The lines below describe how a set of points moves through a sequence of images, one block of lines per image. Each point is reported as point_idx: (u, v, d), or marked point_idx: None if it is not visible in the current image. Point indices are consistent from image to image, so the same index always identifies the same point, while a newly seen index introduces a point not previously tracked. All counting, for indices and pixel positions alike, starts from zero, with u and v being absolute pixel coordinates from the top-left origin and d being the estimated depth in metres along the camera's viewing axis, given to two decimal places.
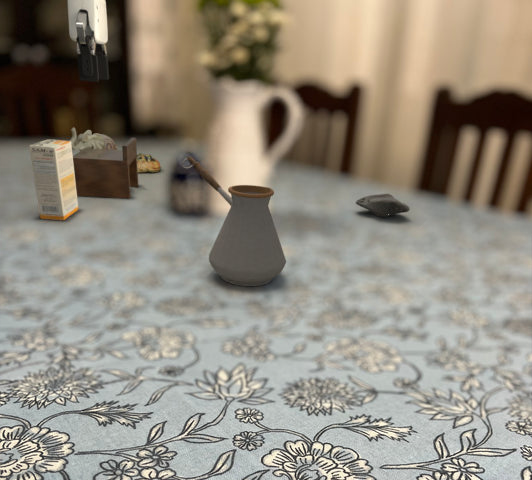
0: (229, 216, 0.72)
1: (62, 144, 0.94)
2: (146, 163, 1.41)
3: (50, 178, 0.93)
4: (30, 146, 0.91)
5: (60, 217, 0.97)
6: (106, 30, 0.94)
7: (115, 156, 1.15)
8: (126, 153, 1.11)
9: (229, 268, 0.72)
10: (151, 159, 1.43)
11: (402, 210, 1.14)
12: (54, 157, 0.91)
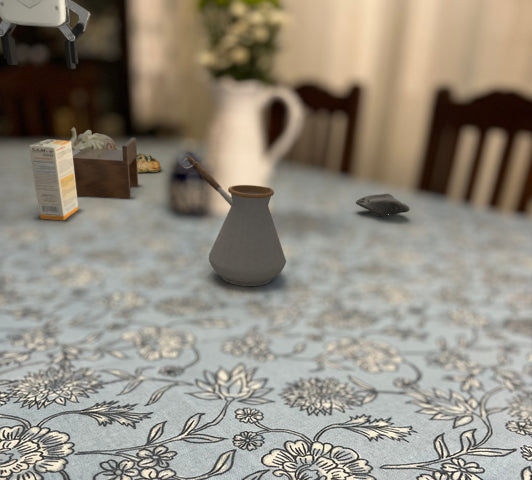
0: (229, 216, 0.72)
1: (62, 144, 0.94)
2: (146, 163, 1.41)
3: (50, 178, 0.93)
4: (30, 146, 0.91)
5: (60, 217, 0.97)
6: None
7: (115, 156, 1.15)
8: (126, 153, 1.11)
9: (229, 268, 0.72)
10: (151, 159, 1.43)
11: (402, 210, 1.14)
12: (54, 157, 0.91)
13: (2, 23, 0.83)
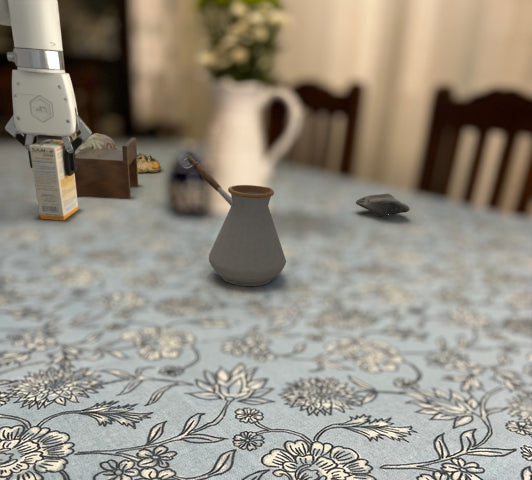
0: (229, 216, 0.72)
1: (62, 144, 0.94)
2: (146, 163, 1.41)
3: (50, 178, 0.93)
4: (30, 146, 0.91)
5: (60, 217, 0.97)
6: None
7: (115, 156, 1.15)
8: (126, 153, 1.11)
9: (229, 268, 0.72)
10: (151, 159, 1.43)
11: (402, 210, 1.14)
12: (54, 157, 0.91)
13: (27, 139, 0.92)
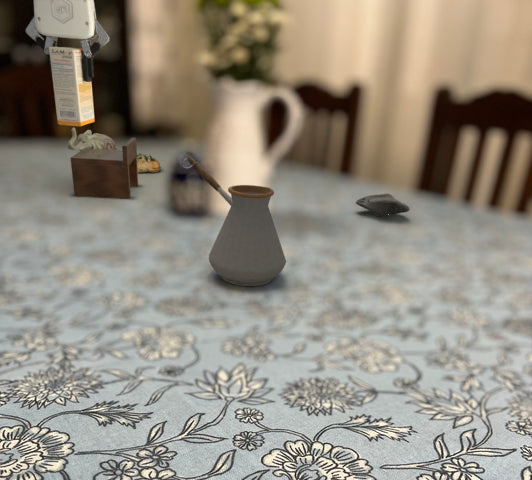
0: (229, 216, 0.72)
1: (80, 49, 0.97)
2: (146, 163, 1.41)
3: (68, 82, 0.96)
4: (50, 47, 0.93)
5: (77, 123, 0.99)
6: None
7: (115, 156, 1.15)
8: (126, 153, 1.11)
9: (229, 268, 0.72)
10: (151, 159, 1.43)
11: (402, 210, 1.14)
12: (73, 59, 0.94)
13: (46, 42, 0.95)
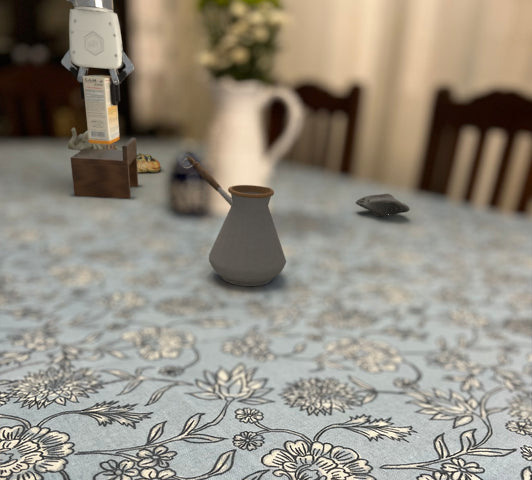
0: (229, 216, 0.72)
1: (109, 77, 1.10)
2: (146, 163, 1.41)
3: (99, 106, 1.08)
4: (83, 76, 1.06)
5: (106, 142, 1.12)
6: None
7: (115, 156, 1.15)
8: (126, 153, 1.11)
9: (229, 268, 0.72)
10: (151, 159, 1.43)
11: (402, 210, 1.14)
12: (103, 87, 1.07)
13: (79, 71, 1.07)
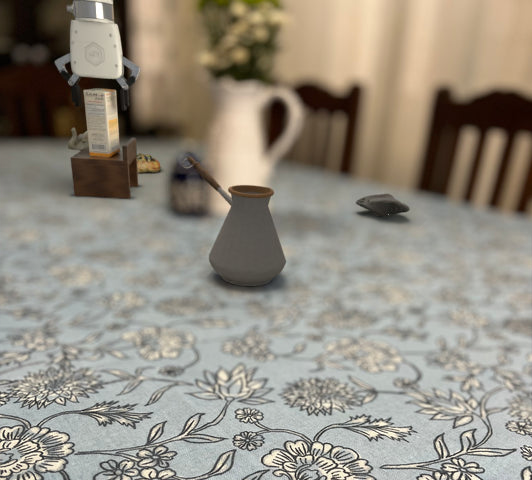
0: (229, 216, 0.72)
1: (109, 91, 1.11)
2: (146, 163, 1.41)
3: (100, 119, 1.10)
4: (84, 91, 1.07)
5: (107, 154, 1.13)
6: None
7: (115, 156, 1.15)
8: (126, 153, 1.11)
9: (229, 268, 0.72)
10: (151, 159, 1.43)
11: (402, 210, 1.14)
12: (104, 100, 1.08)
13: (73, 76, 1.08)
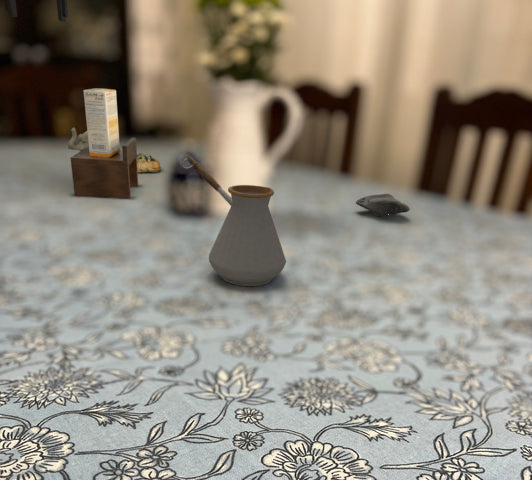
0: (229, 216, 0.72)
1: (109, 91, 1.11)
2: (146, 163, 1.41)
3: (100, 119, 1.10)
4: (84, 91, 1.07)
5: (107, 154, 1.13)
6: None
7: (115, 156, 1.15)
8: (126, 153, 1.11)
9: (229, 268, 0.72)
10: (151, 159, 1.43)
11: (402, 210, 1.14)
12: (104, 101, 1.08)
13: None
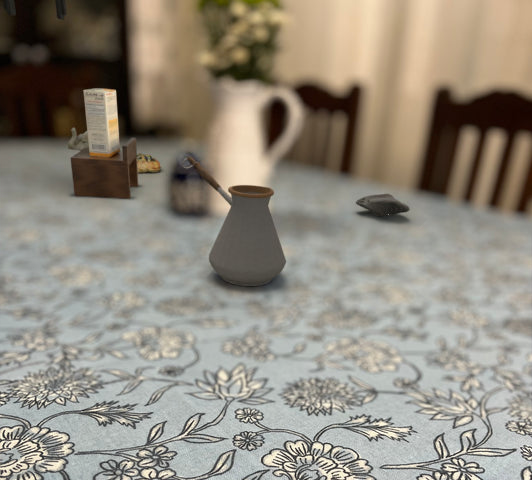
0: (229, 216, 0.72)
1: (109, 91, 1.11)
2: (146, 163, 1.41)
3: (100, 119, 1.10)
4: (84, 91, 1.07)
5: (107, 154, 1.13)
6: None
7: (115, 156, 1.15)
8: (126, 153, 1.11)
9: (229, 268, 0.72)
10: (151, 159, 1.43)
11: (402, 210, 1.14)
12: (104, 101, 1.08)
13: None
